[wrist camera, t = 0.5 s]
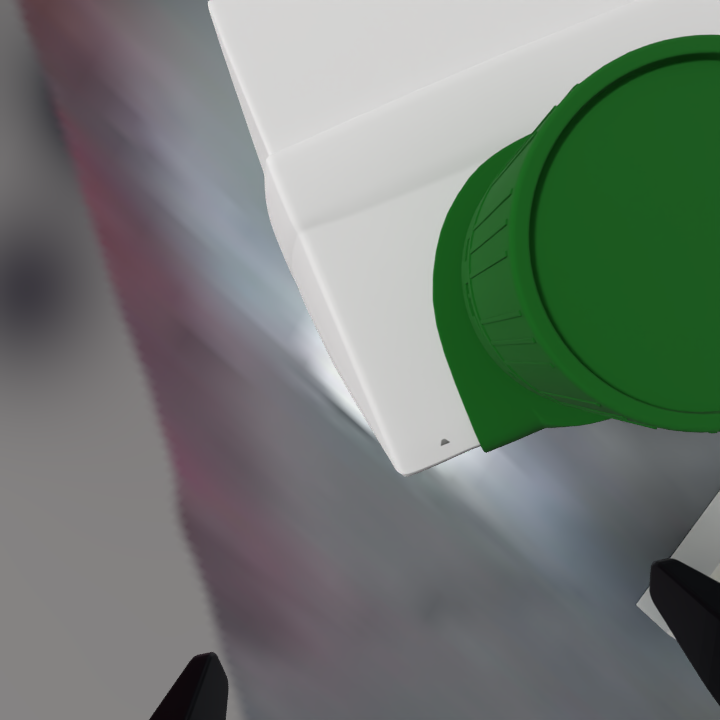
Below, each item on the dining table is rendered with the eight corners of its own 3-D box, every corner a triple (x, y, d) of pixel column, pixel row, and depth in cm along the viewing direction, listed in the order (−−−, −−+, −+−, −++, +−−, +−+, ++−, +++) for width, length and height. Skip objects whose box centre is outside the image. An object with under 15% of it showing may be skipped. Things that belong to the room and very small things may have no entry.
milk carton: (363, 397, 24) (387, 621, 4) (304, 253, 24) (31, -239, 4) (502, 340, 24) (1201, 289, 4) (444, 196, 24) (883, -598, 4)
